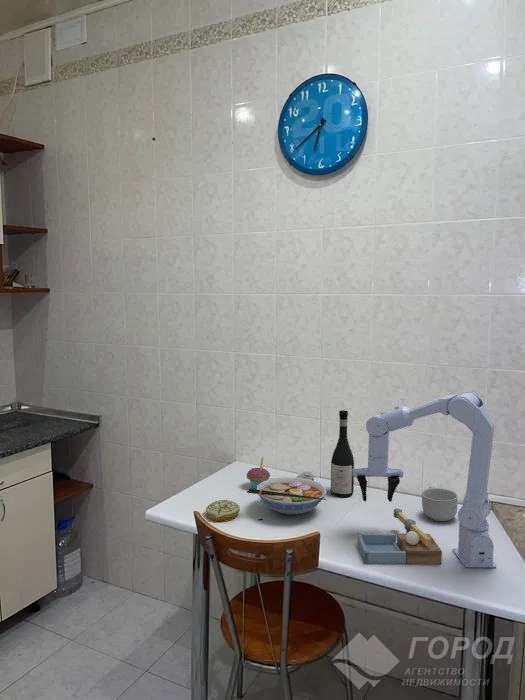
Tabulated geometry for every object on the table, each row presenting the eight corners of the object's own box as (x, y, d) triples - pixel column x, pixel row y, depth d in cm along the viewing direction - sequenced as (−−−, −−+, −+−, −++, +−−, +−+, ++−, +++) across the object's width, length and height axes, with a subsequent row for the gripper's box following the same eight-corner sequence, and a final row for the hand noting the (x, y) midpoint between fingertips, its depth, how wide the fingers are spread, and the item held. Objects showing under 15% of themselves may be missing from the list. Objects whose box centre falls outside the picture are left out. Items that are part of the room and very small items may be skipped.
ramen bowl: (333, 501, 173) (334, 478, 172) (323, 530, 151) (324, 504, 150) (263, 494, 179) (263, 471, 179) (243, 520, 157) (243, 495, 157)
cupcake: (274, 486, 187) (274, 454, 186) (261, 493, 180) (261, 460, 179) (254, 481, 192) (254, 450, 191) (241, 488, 185) (242, 456, 184)
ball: (420, 547, 133) (421, 534, 133) (407, 547, 133) (407, 534, 133) (416, 541, 137) (417, 528, 136) (403, 541, 137) (404, 528, 136)
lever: (433, 545, 133) (433, 538, 132) (423, 546, 132) (423, 539, 132) (400, 514, 152) (400, 508, 152) (391, 515, 151) (391, 508, 151)
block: (441, 563, 132) (441, 549, 131) (406, 563, 132) (407, 548, 131) (426, 541, 144) (426, 527, 144) (394, 541, 144) (394, 527, 144)
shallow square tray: (405, 563, 132) (406, 552, 131) (365, 563, 132) (365, 552, 131) (395, 544, 142) (395, 533, 142) (357, 543, 142) (357, 533, 142)
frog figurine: (311, 494, 179) (311, 475, 178) (292, 491, 182) (292, 472, 181) (316, 489, 184) (317, 470, 184) (298, 486, 187) (299, 467, 187)
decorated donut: (199, 514, 162) (199, 503, 162) (227, 506, 169) (227, 495, 168) (217, 526, 154) (217, 514, 153) (245, 516, 160) (245, 505, 160)
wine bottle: (351, 499, 175) (353, 414, 172) (328, 496, 177) (330, 412, 175) (354, 491, 182) (356, 409, 180) (332, 488, 185) (334, 407, 182)
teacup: (459, 526, 154) (460, 501, 153) (422, 523, 156) (423, 498, 155) (452, 508, 168) (453, 485, 167) (418, 505, 170) (418, 482, 169)
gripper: (399, 451, 152) (397, 495, 154) (351, 451, 153) (350, 494, 154) (405, 458, 145) (404, 504, 147) (355, 458, 145) (354, 504, 147)
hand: (376, 500), depth 150 cm, fingers open, 7 cm apart
